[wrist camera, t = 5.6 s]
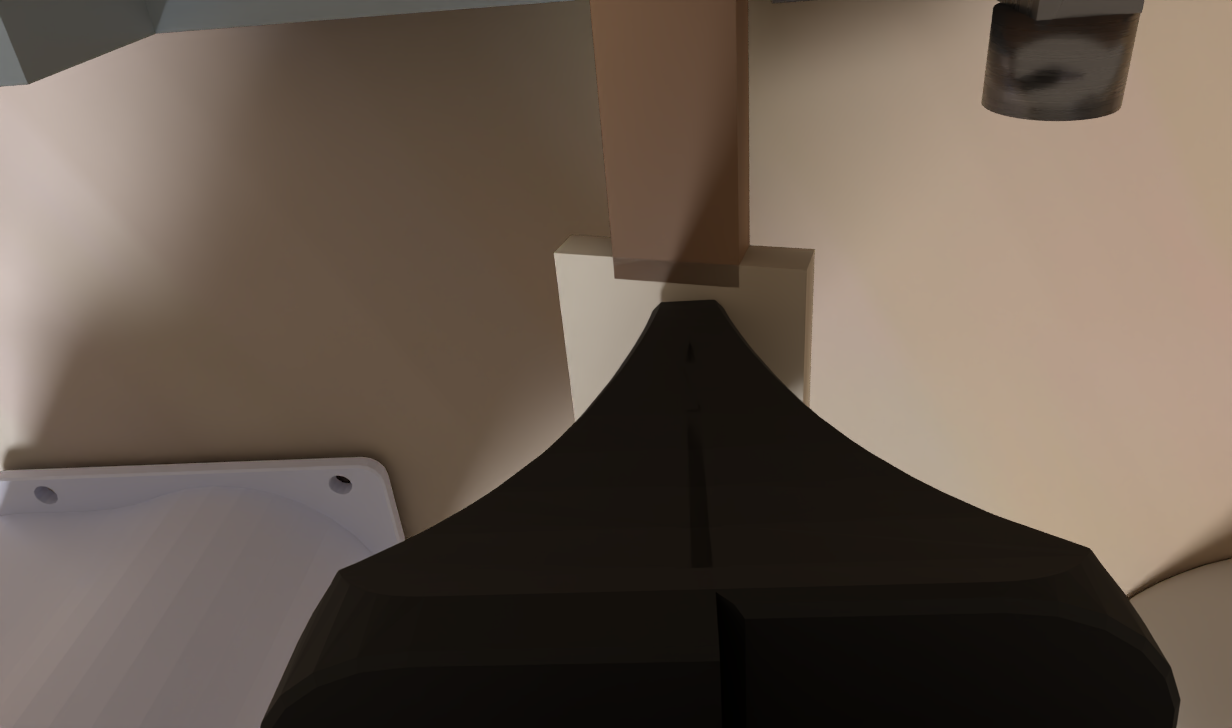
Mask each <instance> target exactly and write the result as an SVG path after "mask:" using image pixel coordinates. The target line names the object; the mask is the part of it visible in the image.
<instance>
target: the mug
mask: <svg viewBox="0 0 1232 728" xmlns="http://www.w3.org/2000/svg"><path fill="white" fill-rule="evenodd" d="M1129 601H1130V602H1131V604H1132V605H1133V607H1134V608H1135V610H1136V611H1137V613H1138V614H1139V616H1140V617H1141V618H1142V620H1143V621H1144V623H1145V625H1146V626H1147V628H1148V630H1149V631H1150V633H1151V635H1152V636H1153V638H1154V640H1155V641H1156V643H1157V645H1158V646H1159V648H1160V649H1161V651H1162V653H1163V654H1164V656H1165V658H1166V659H1167V661H1168V663H1169V664H1170V666H1171V668H1172V672H1173V675H1174V678H1175V682H1176V685H1177V689H1178V692H1179V695H1180V699H1181V701H1180V708H1179V715H1178V721H1177V728H1232V559H1227V560H1223V561H1219V562H1215V563H1211V564H1207V565H1204V566H1201V567H1198V568H1195V569H1192V570H1189V571H1186V572H1183V573H1180V574H1178V575H1176V576H1173V577H1171V578H1169V579H1166V580H1164V581H1162V582H1159V583H1157V584H1156V585H1154V586H1152V587H1150V588H1148V589H1146V590H1144V591H1142V592H1140V593H1139V594H1137V595H1136V596H1134V597H1133V598H1131V599H1129Z"/></svg>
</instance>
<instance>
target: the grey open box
mask: <svg viewBox="0 0 1232 728" xmlns="http://www.w3.org/2000/svg"><path fill="white" fill-rule="evenodd" d="M560 1H573V0H0V87H1V86H14V85H27V84H30V83H33V82H35V81H38V80H40V79H43V78H45V77H48V76H51V75H53V74H56V73H58V72H61V71H63V70H66V69H68V68H71V67H73V66H76V65H78V64H81V63H83V62H86V61H88V60H91V59H93V58H96V57H98V56H101V55H103V54H106V53H108V52H111V51H113V50H116V49H118V48H121V47H123V46H126V45H128V44H131V43H133V42H136V41H138V40H141V39H143V38H146V37H148V36H151V35H153V34H156V33H169V32H182V31H194V30H207V29H220V28H232V27H245V26H257V25H270V24H283V23H295V22H308V21H321V20H333V19H346V18H358V17H371V16H384V15H396V14H409V13H422V12H434V11H447V10H459V9H472V8H485V7H497V6H510V5H522V4H535V3H548V2H560Z"/></svg>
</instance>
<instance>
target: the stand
mask: <svg viewBox="0 0 1232 728" xmlns="http://www.w3.org/2000/svg"><path fill="white" fill-rule="evenodd" d="M770 1H771V2H772V3H785V2H797V1H810V0H770ZM997 1H999V2H1001V3H998V4H996V5H995V6H994V7H993V15H992V23H991V31H990V39H989V47H988V55H987V63H986V71H985V79H984V87H983V94H982V102H981V103H982V105H983V106H984V107H985V108H986V109H988V110H990V111H992V112H995V113H997V114H1001V115H1005V116H1009V117H1015V118H1021V119H1029V120H1042V121H1072V120H1085V119H1092V118H1098V117H1102V116H1106V115H1109V114H1112V113H1114V112H1116V111H1118V110H1119V109H1120V108H1121V105H1122V100H1123V95H1124V90H1125V86H1126V81H1127V76H1128V71H1129V66H1130V61H1131V56H1132V51H1133V46H1134V42H1135V37H1136V32H1137V27H1138V22H1139V17H1140V13H1142V9H1143V4H1144V0H997Z"/></svg>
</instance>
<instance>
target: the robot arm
mask: <svg viewBox="0 0 1232 728" xmlns="http://www.w3.org/2000/svg"><path fill="white" fill-rule="evenodd" d="M337 475H338V476H344V477H345V478H347V479H348V480H349V481H350V482H351V483H344V482H341V481H340V480H338V479H337V478H336V476H337ZM47 487H48V488H50V489H51V490H53V491H54V492H53V491H51V490H49V489H48V488H47ZM1180 701H1181V699H1180V695H1179V692H1178V689H1177V685H1176V682H1175V678H1174V675H1173V672H1172V668H1171V666H1170V664H1169V663H1168V661H1167V659H1166V658H1165V656H1164V654H1163V653H1162V651H1161V649H1160V648H1159V646H1158V645H1157V643H1156V641H1155V640H1154V638H1153V636H1152V635H1151V633H1150V631H1149V630H1148V628H1147V626H1146V625H1145V623H1144V621H1143V620H1142V618H1141V617H1140V616H1139V614H1138V613H1137V611H1136V610H1135V608H1134V607H1133V605H1132V604H1131V602H1130V601H1129V599H1128V598H1127V596H1126V595H1125V593H1124V592H1123V591H1122V590H1121V588H1120V587H1119V586H1118V585H1117V583H1116V582H1115V581H1114V579H1113V578H1112V577H1111V576H1110V574H1109V573H1108V572H1107V571H1106V569H1105V568H1104V567H1103V566H1102V564H1101V563H1100V562H1099V560H1098V559H1097V557H1096V556H1095V554H1094V553H1093V552H1092V550H1091V549H1090V548H1087V547H1085V546H1082V545H1079V544H1076V543H1073V542H1070V541H1067V540H1065V539H1062V538H1059V537H1056V536H1053V535H1050V534H1047V533H1044V532H1042V531H1039V530H1036V529H1033V528H1030V527H1027V526H1024V525H1022V524H1019V523H1016V522H1013V521H1010V520H1007V519H1004V518H1001V517H999V516H996V515H994V514H991V513H989V512H986V511H984V510H982V509H980V508H977V507H975V506H973V505H971V504H968V503H966V502H964V501H962V500H959V499H957V498H955V497H953V496H950V495H948V494H946V493H944V492H941V491H939V490H937V489H935V488H933V487H931V486H929V485H927V484H925V483H923V482H921V481H919V480H917V479H915V478H914V477H912V476H910V475H908V474H906V473H905V472H903V471H901V470H899V469H898V468H896V467H894V466H892V465H891V464H889V463H887V462H886V461H884V460H882V459H880V458H879V457H877V456H875V455H873V454H872V453H870V452H869V451H867V450H866V449H864V448H862V447H861V446H859V445H858V444H856V443H855V442H853V441H852V440H850V439H849V438H847V437H846V436H845V435H843V434H842V433H841V432H839V431H838V430H837V429H835V428H834V427H833V426H831V425H830V424H829V423H827V422H826V421H824V420H823V419H822V418H820V417H819V416H818V415H817V414H816V413H814V412H813V411H812V410H811V409H810V408H809V407H808V406H806V405H805V404H804V403H803V402H802V401H801V400H800V399H799V398H798V397H797V396H796V395H795V394H794V393H793V392H792V391H791V390H789V389H788V388H787V386H786V385H785V384H784V383H783V382H782V381H781V380H780V379H779V378H778V377H777V376H776V375H775V374H774V373H773V372H772V371H771V369H770V368H769V367H768V366H767V365H766V364H765V363H764V362H763V361H762V359H761V358H760V357H759V356H758V355H757V354H756V353H755V351H754V350H753V349H752V348H751V346H750V345H749V344H748V343H747V341H746V340H745V339H744V337H743V336H742V335H741V333H740V332H739V331H738V329H737V328H736V327H735V325H734V324H733V322H732V321H731V319H730V318H729V316H728V314H727V313H726V311H725V309H724V308H723V307H722V306H721V305H720V304H719V303H718V302H717V301H716V300H693V301H674V302H661V303H660V304H659V305H658V306H657V307H656V308H655V309H654V310H653V311H652V313H651V316H650V318H649V320H648V322H647V324H646V326H645V328H644V330H643V332H642V333H641V335H640V337H639V338H638V340H637V342H636V343H635V345H634V347H633V348H632V350H631V351H630V353H629V354H628V356H627V357H626V359H625V360H624V362H623V363H622V364H621V366H620V367H619V369H618V370H617V372H616V373H615V375H614V376H613V377H612V379H611V380H610V381H609V383H608V384H607V385H606V386H605V388H604V389H603V390H602V391H601V392H600V394H599V395H598V396H597V397H596V399H595V400H594V401H593V402H592V403H591V405H590V406H589V407H588V408H587V409H586V411H585V412H584V413H583V414H582V415H581V416H580V417H579V418H578V420H577V421H576V422H575V423H574V424H573V425H572V426H571V427H570V428H569V429H568V430H567V431H566V432H565V433H564V434H563V435H562V436H561V437H560V438H559V439H558V440H557V441H556V442H555V443H554V444H553V445H551V446H550V447H549V448H548V449H547V450H546V451H545V452H544V453H543V454H541V455H540V456H539V457H537V458H536V459H535V460H533V461H532V462H531V463H529V464H528V465H527V466H525V467H524V468H523V469H521V470H520V471H519V472H517V473H516V474H515V475H513V476H512V477H511V478H509V479H508V480H507V481H505V482H504V483H503V484H501V485H500V486H499V487H497V488H496V489H494V490H493V491H491V492H490V493H488V494H487V495H485V496H484V497H482V498H480V499H479V500H477V501H476V502H474V503H473V504H471V505H469V506H468V507H466V508H465V509H463V510H461V511H459V512H458V513H456V514H454V515H452V516H451V517H449V518H447V519H445V520H444V521H442V522H440V523H438V524H436V525H435V526H433V527H431V528H429V529H427V530H425V531H423V532H421V533H419V534H417V535H415V536H413V537H411V538H409V539H407V540H405V537H404V533H403V529H402V525H401V521H400V518H399V514H398V510H397V506H396V502H395V499H394V495H393V491H392V487H391V483H390V480H389V476H388V473H387V471H386V469H385V467H384V466H383V465H382V464H381V463H379V462H378V461H376V460H374V459H372V458H367V457H345V458H318V459H292V460H265V461H239V462H213V463H186V464H160V465H133V466H107V467H81V468H54V469H28V470H5V471H0V728H1177V721H1178V715H1179V708H1180Z"/></svg>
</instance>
